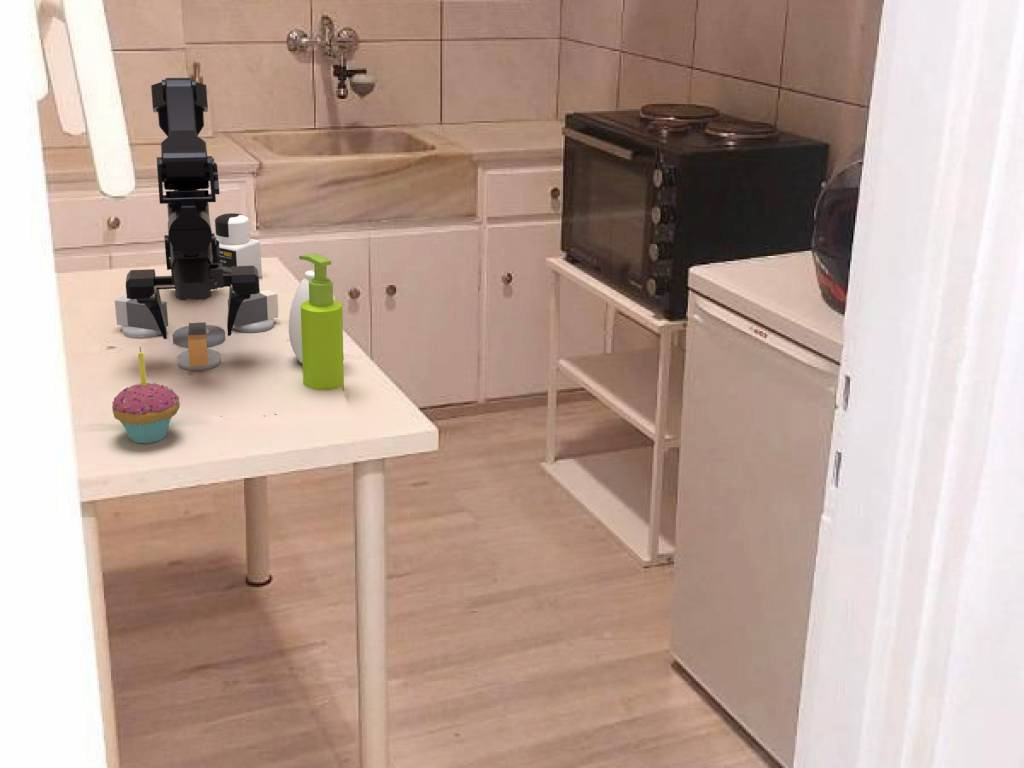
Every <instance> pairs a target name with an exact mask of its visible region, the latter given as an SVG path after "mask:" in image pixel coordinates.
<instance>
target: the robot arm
mask: <svg viewBox="0 0 1024 768" xmlns="http://www.w3.org/2000/svg"><path fill="white" fill-rule="evenodd" d="M150 91H151V105H152V112H153V113H157V117H158V126H159V128H160V129H161V131H162V132H163V133H164V134H165V135H166V138H165V139H163V140H162V141H161V143H160V150H161V151H160V153H161V156H158V157H157V156H156V168H157V169H156V170H157V183H158V184H157V185H158V197H159V199H158V200H159V204H160V205H163V204H165V205H166V206H167V219H168V221H167V233H168V234H164V235H163V236H164V251H165V261H166V263H165V264H166V270H168V271H170V272H171V275H161V276H160V275H158V276H157V275H156V271H155V270H156V269H155V268H153V269H150V268H148V269H147V268H146V269H130V270H129V271H128V273H127V274H126V279H125V293H126V295H125V296H127V298H128V299H137V303H139V304H145V305H146V306H147V307H148V309H149V310H150V312H151V313H152V315H153V316H154V318H155V320H156V323H157V325H158V327H159V329H160V331H161V334H160V335H161V336H162V338H163V339H164V340H167V339H168V332H167V327H166V322H165V317H164V313H163V308H162V303H161V301H162V298H161V295H160V290H174V291H175V298H176V299H177V300H178V301H188V300H201V301H204V300H208V299H211V297H212V291H213V290H218V289H223V288H226V287H227V288H228V287H229V290H228V299H229V303H228V302H227V319H226V320H227V321H226V327H227V336H228V337H231V336H232V332H233V329H234V322H235V318H236V315H237V312H238V310H239V307H240V305H241V303H242V302H243V300H245V299H250V298H251V294H258V293H260V292H261V291H260V278H259V275H258V269H257V268H255V267H254V266H231V274H223V266H222V263H220V252H219V241H218V240H217V238H216V234H215V233H213V232H212V225H211V219H210V208H209V207H210V206H209V205H210V204H209V203H216V202H217V199H216V195H220V180H219V171H218V163H216V162H215V158H214V157H213V156H212V155H208V149H207V143H206V141H205V140H204V139H202V138H201V137H199V134H200V133H201V131H202V130H203V128H204V126H205V116H204V115H205V113H207V112H209V103H208V91H207V85H206V84H203V83H200V82H198V81H196V79H192V78H191V77H166V78H165V79H161V81H160V82H158V83H157V82H156V83H154V84H151V85H150ZM209 188H210V193H209V190H208V189H209ZM164 190H165V195H164Z"/></svg>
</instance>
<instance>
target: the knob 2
mask: <svg viewBox="0 0 1024 768" xmlns="http://www.w3.org/2000/svg"><path fill="white" fill-rule="evenodd" d="M278 300H279V298H278V293H277V292H275V291H272V290H270V289H267V290H266V289H265V290H261V291H260V293H258V294H251V298H250V299H245V300H243V302H242V303H241V305H240V307H239V310H238V312H237V315H236V318H235V322H234V325H233V329H234V330H235V331H238V332H241V333H250V334H251V333H262V332H264V333H265V332H267V331H270V330H271V329H273V328H274V326H275V321H274V319H278V318H279V303H278V302H279V301H278ZM228 303H229V298H228V299H227V304H228Z"/></svg>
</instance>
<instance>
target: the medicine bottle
mask: <svg viewBox="0 0 1024 768" xmlns="http://www.w3.org/2000/svg"><path fill="white" fill-rule="evenodd" d="M249 221H250V219H249V217H248V216H246V215H245V214H241V213H235V212H234V213H224V214H221V215H218V216H217V217H215V219H214V226H215V237H216V239H217V240H218V241H219V252H220V263H222V266H223V274H231V266H254V267H255V268H257V269H258V275H259V279H260V278H261V277H262V276H263V274H262V273H263V272H262V270H263V269H262V253H261V251H262V250H261V241H260V240H258V239H253V238H250V222H249Z"/></svg>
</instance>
